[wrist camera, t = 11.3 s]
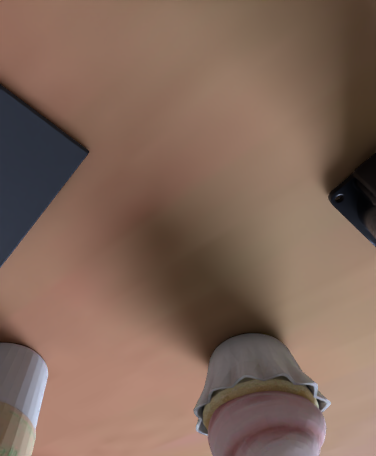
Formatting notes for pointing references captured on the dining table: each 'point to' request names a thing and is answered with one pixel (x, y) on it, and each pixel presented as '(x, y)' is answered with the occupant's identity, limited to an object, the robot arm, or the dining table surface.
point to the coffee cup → (20, 398)
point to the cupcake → (260, 401)
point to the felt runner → (29, 167)
